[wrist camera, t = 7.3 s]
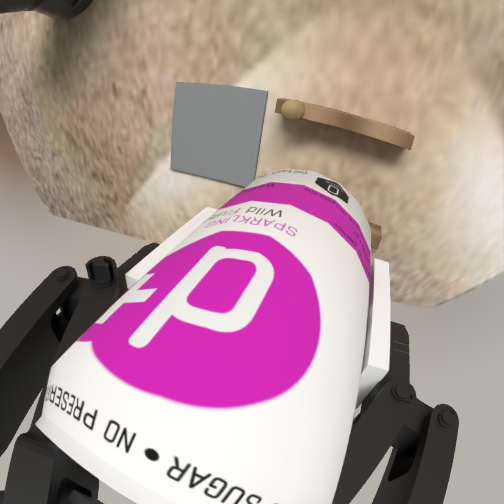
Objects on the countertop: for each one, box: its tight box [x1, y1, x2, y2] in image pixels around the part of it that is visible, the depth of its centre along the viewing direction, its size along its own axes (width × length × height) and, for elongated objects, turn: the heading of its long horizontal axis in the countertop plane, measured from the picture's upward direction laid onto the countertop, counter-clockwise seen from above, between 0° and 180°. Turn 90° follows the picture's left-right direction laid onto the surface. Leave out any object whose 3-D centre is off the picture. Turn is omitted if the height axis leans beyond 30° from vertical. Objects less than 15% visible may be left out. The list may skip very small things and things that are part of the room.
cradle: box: [275, 99, 414, 249], centre depth 29 cm, size 14×13×4 cm
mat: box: [171, 82, 268, 187], centre depth 34 cm, size 12×12×1 cm
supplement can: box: [35, 169, 371, 504], centre depth 11 cm, size 8×8×15 cm
